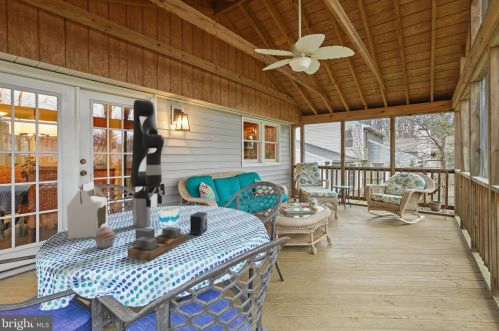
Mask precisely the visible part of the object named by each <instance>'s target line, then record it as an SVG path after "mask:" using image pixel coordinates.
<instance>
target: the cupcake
mask: <svg viewBox="0 0 499 331" xmlns="http://www.w3.org/2000/svg"><path fill="white" fill-rule="evenodd" d="M116 237H117V235H116V234H115V232H114V231H113V230H112V228H110V227H108V226H107V227H106V226H104V227H102V228H101V229H100V231H98V232H97V234H96V237H93V240H94V241H95V242H96V247H97V248H98V249H109V248H111V247H113V246H114V241H115V239H116Z"/></svg>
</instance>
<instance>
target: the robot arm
mask: <svg viewBox="0 0 499 331" xmlns="http://www.w3.org/2000/svg"><path fill="white" fill-rule="evenodd" d="M132 108H133V132H132V133H133V134H132V157H131V159H132V162H131V167H130V168H131V169H130V176H129V177H130V185H131V187H133V188H139V187H141V189H140V190H138V191H136V192H135V193H133V210H132V226H133V227H135V228H147V227H149V226H151V207H152V200H151V199H152V197H153V196H154V195H156V196H157V204H158V205H162V204H163V196H165V194H166V193H165V192H166V191H165V190H166V189H165V183H162V181H163V180H162V176H163V175H162V174H163V171H162V152H163V149H164V148H163V147H164V145H165V138H164V136H163V135H161V134H159V131H158V127H157V122H156V108H155V104H154V102H152V101H150V100H142V99H136V100H134V101H133V106H132ZM140 117H144V118H145V119H144V120H143V122H141V118H140ZM150 149H156V150H155V151H154V152H149V151H150ZM144 159H145V170H144V171H140V167H141V165H142V162H143V161H144Z"/></svg>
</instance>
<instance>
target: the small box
mask: <svg viewBox="0 0 499 331" xmlns="http://www.w3.org/2000/svg"><path fill="white" fill-rule="evenodd" d="M189 218H190V219H189V220H190V221H189V225H190V226H189V235H190V236H191V235H192V236H201V235H203V234H204V233H205V232H206V231H208V212H205V211H204V212H202V211H197V212H195V213H193V214H192V215H189Z"/></svg>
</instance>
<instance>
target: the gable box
mask: <svg viewBox="0 0 499 331" xmlns="http://www.w3.org/2000/svg"><path fill="white" fill-rule="evenodd" d="M78 188H79V189H80V190H78V191H77V192H76V193H75V195H74V196H73V198H72V199H71V200H70V201H69V202H68V204H67V206H66V217H67V218H66V219H67V220H66V221H67V239H68V240H73V238H77V239H87V238H86V237H92V238H94V237H96V234H97V232H98V231H100V229H101V228H102V227H104V226H106V227H108V226H109V225H108V224H109V221H108V220H109V218H108V216H109V215H108V197H107V196H106V195H105V194H104V193H103V192H102V190H101V189H100V188H99V187H98V186H96V185H95V183H94V181H89V182H86V183H83V184H82V185H81V186H80V185H79V186H78Z"/></svg>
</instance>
